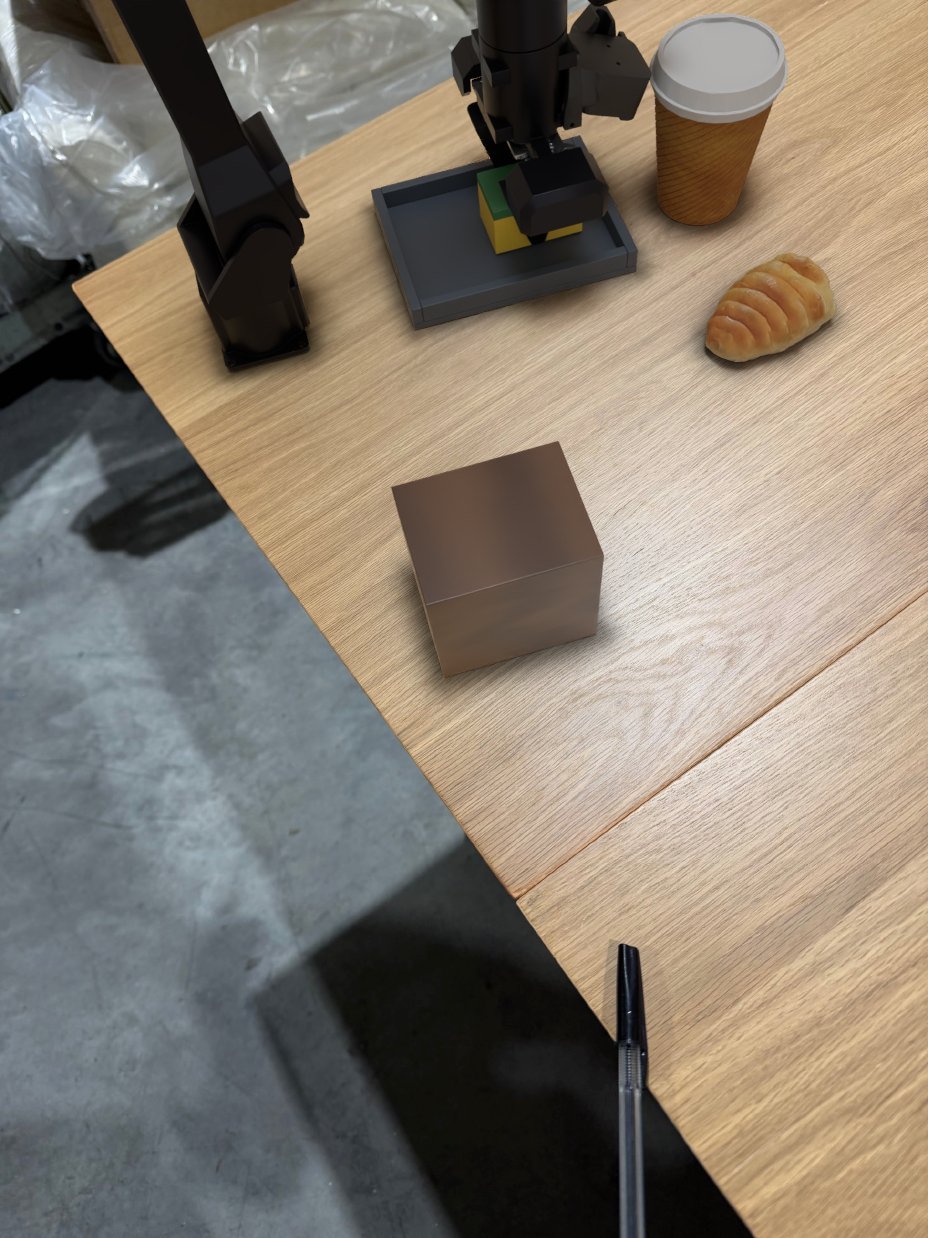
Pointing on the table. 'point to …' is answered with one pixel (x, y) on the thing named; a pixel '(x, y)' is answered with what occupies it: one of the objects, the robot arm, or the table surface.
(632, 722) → the table surface
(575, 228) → the sponge
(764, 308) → the pastry
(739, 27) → the disposable coffee cup
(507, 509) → the cube
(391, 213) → the tray
